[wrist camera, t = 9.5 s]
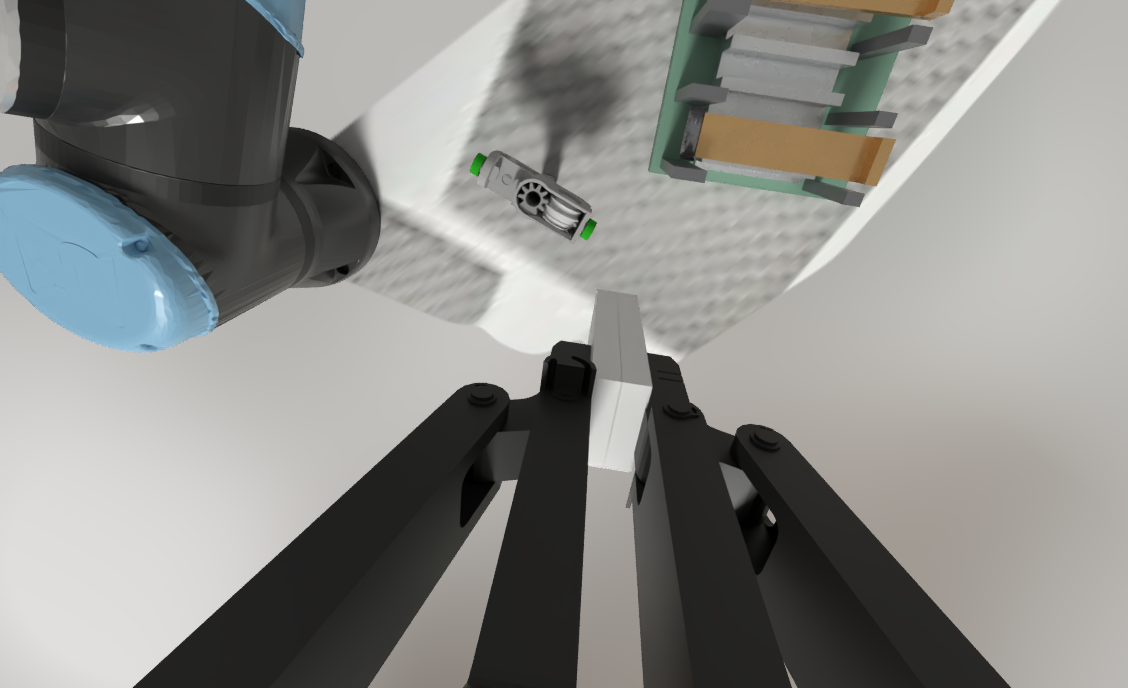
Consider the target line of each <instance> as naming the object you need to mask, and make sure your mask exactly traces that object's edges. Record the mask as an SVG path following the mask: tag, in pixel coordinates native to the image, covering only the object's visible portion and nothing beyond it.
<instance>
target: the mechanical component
mask: <svg viewBox="0 0 1128 688" xmlns="http://www.w3.org/2000/svg"><path fill="white" fill-rule="evenodd" d="M470 172H471V173H472V174H474V175H476V176H478V180H477V184H478V185H480V186H482V187H483V188H486V187H487V188H489V189H490V190H492V191H494V192H496V193H497V194H499V195H501V196H502V197H504V198H506V199H508V200H509V201H511V202H512V203H511V204H512V205H513V206H515V208H516V210H517V211H518V213H519V214H520V215H521V216H523V217H525V218H527V219H531V220H533V221H535V222H537V223H539V224H540V225H542V226H544V227H546V228H547V229H549V230H551V231H552V232H554V233H556V234H558V235H559V236H561V237H563V238H564V239H566V240H568V241H570V242H571V243H573V244H574V243H575V241H576V239H577V237H578V236H579V234H580V232H582V233H581V235H580V237H582V238H584V239H585V240H588V238H589V237H590V235H591V234H592V232H593V230H594V228H595V226H596V224H597V222H595V221H594V220H592V219H589V220H588V218H589V217H590V215H591V212H592V209H590V208H591V206H590V205H589V204H588V203H587V202H586V201H584V200H583V199H581V198H580V197H578V196H576V195H575V194H573V193H571V192H570V191H568V190H566V189H565V188H563V187H561V186H560V185H558V184H556V180H555V178H554V177H553V176H551V175H545V174H540V173H538V172H536V171H535V170H533V169H531V168H529V167H528V166H526V165H524V164H523V163H521V162H519V161H518V160H516V159H514V158H513V157H511V156H509V155H507V154H505V153H503V152H501V151H493V152H491V153H490V155H489V156H488V158H487V157H486V156H484V155H482V154H481V153H478V155H477V156H476V157H475V159H474V161H473V163H472V166H471V169H470ZM545 219H546V220H548V221H550V222H551V223H553V224H554V225H556V226H558V227H560V228H562V229H563V230H564V231H563V230H560V229H558V228H556V227H554V226H553V225H551V224H549V223H548V222H547V221H546V220H545ZM587 220H588V222H587Z"/></svg>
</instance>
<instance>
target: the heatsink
mask: <svg viewBox="0 0 1128 688" xmlns="http://www.w3.org/2000/svg"><path fill="white" fill-rule="evenodd" d="M873 15H874V14H871V13H863V12H855V11H846V10H838V9H830V8H822V7H814V6H806V5H797V4H789V3H781V2H773V1H765V0H752V1H751V5H750V9H749V13H748V16H747V17H745V18H744V19H743V20H741V21H740V22H739V23H737V24H736V25H735V26H734V27H732V28H731V29H730V30H728V31H727V32H726V33H724V34H723V38H722V42H721V46H720V50H719V54H718V58H717V63H716V67H715V71H714V75H713V79H712V83H711V86H717V87H723V88H729V90H728V94H727V98H726V102H722V103H716V104H711V105H706V108H707V112H706V113H712V114H719V115H726V116H732V117H739V118H746V119H753V120H760V121H767V122H773V123H780V124H787V125H794V126H801V127H807V128H814V129H819V127H820V124H821V121H822V118H823V116H824V113H825V110H826V107H839V106H841V104H842V101H843V98H844V96H845V94H840V93H833V92H832V90H833V87H834V84H835V81H836V78H837V75H838V72H839V69H844V68H848V67H853V66H855V65H856V62H857V59H858V57H859V54H860V53H857V52H850V51H846V49H847V46H848V43H849V41H850V38H851V35H852V32H853V29H855V28H858V27H860V26H863V25H866V24H868V23H871V20H872V18H873ZM692 164H694V165H696V166H698V167H700V168H702V169H706V170H713V171H720V172H726V173H733V174H739V175H746V176H752V177H759V178H765V179H772V180H778V181H785V182H791V183H798V184H800V182H801V179H802V178H807V179H813V180H814V179H815V177H816V176H813V175H806V174H800V173H794V172H787V171H781V170H774V169H768V168H762V167H755V166H749V165H742V164H736V163H730V162H723V161H717V160H710V159H704V158H698V157H695V161H693V162H692Z"/></svg>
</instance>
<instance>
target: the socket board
mask: <svg viewBox="0 0 1128 688" xmlns="http://www.w3.org/2000/svg"><path fill="white" fill-rule="evenodd" d="M707 1H708V0H683V2H682V7H681V12H680V17H679V22H678V27H677V32H676V37H675V42H674V46H673V51H672V56H671V61H670V66H669V71H668V76H667V81H666V86H665V90H664V95H663V100H662V105H661V110H660V115H659V120H658V125H657V130H656V135H655V139H654V144H653V149H652V154H651V159H650V164H649V169H648V171H649V172H653V173H659V174H666V173H665V172H664V171H663V170H662V169H661V168H660V163H661V159H662V158H666V159H673V160H679V161H686V162H690V163H692V162H693V161H688V160H682V159H679V155H680V150H681V146H682V142H683V137H684V133H685V129H686V124H687V120H688V115H689V111H690V107H691V106H698V107H704V108H706V105H705V106H699V105H693V104H686V103H679V102H674V98H675V93H676V91H677V90H679V89H681V88H683V87H685V86H687V85H690V84H692V83H697V84H703V85H710V86H711V83H712V79H713V75H714V71H715V67H716V63H717V58H718V54H719V50H720V46H721V42H722V38H723V35H722V36H720V37H719V38H716V37H709V36H702V35H695V34H688V33H689V28H690V23H691V21H692V19H693V18H694V17H695V16H696V15H697V13H698V12H699V11H700V10H701V8H702V7H703V6H704V5H705V4H706V2H707ZM911 19H912V18H904V17H895V16H887V15H879V14H874V15H873V18H872V20H871V23H868V24H866V25H863V26H860V27H858V28H855V29H853V32H852V35H851V38H850V41H849V43H848V46H847V49H846V51H850V50H851V47H852V44H855V43H858V42H861V41H864V40H867V39H870V38H874V37H877V36H880V35H883V34H886V33H889V32H892V31H895V30H899V29H902V28H905V27H908V26H909V24H910V21H911ZM898 52H899V51H898ZM898 52H894V53H890V54H886V55H881V56H877V57H873V58H869V59H865V60H860V59H857V62H856V65H855V66H853V67H848V68H844V69H839V72H838V75H837V78H836V81H835V84H834V87H833V90H832V92H833V93H840V94H845V96H844V98H843V101H842V104H841V106H839V107H826V110H825V113H824V116H823V118H822V121H821V124H820V127H819V129H821V130H828V131H835V132H841V133H848V134H855V135H862V136H866V134H867V131H868V129H869V128H856V127H834V126H828V125H824V124H825V121H826V118H827V115H828V113H838V112H862V111H876V108H877V106H878V103H879V101H880V98H881V96H882V93H883V90H884V88H885V85H886V83H887V80H888V78H889V75H890V72H891V70H892V67H893V65H894V62H895V60H896V57H897V55H898ZM704 170H706V169H704ZM706 171H708V172H707V175H706V179H705V181H711V182H718V183H724V184H731V185H737V186H744V187H750V188H757V189H763V190H770V191H776V192H783V193H789V194H796V195H802V196H809V197H815V198H822V199H826V198H823V197H820V196H818V195H815V194H812V193H809V192H806V191H803V190H802V187H803V184H804V181H805V179H807V178H802V179H801V182H800V184H798V183H791V182H785V181H778V180H772V179H765V178H759V177H752V176H746V175H739V174H733V173H726V172H720V171H713V170H706ZM666 175H668V174H666ZM808 180H813V179H808ZM814 181H820V182H824V183H827V184H831V185H834V186H838V187H841V188H846V185H847V183H848V181H845V180H839V179H832V178H826V177H819V176H816V177H815V179H814ZM828 200H829V199H828Z"/></svg>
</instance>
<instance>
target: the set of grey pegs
mask: <svg viewBox="0 0 1128 688" xmlns="http://www.w3.org/2000/svg"><path fill="white" fill-rule="evenodd" d="M751 1H752V0H708V1H707V2H706V4H705V5H704V6H703V7H702V8H701V10H700V11H699V12H698V13H697V15H696V16H695V17H694V18H693V19H692V21H691V23H690V28H689V33H688V34H695V35H702V36H709V37H716V38H719V37H720V36H722V35H723V34H724V33H726V32H727V31H728V30H730V29H731V28H732V27H734V26H735V25H736V24H737V23H739V22H740V21H741V20H743V19H744V18H745V17H747V16H748V13H749V9H750V5H751ZM932 29H933V27H927V26H920V25H911V26H908V27H905V28H902V29H899V30H895V31H892V32H889V33H886V34H883V35H880V36H877V37H874V38H870V39H867V40H864V41H861V42H858V43H855V44H852V47H851V50H850V52H857V53H860V54H859V57H858V59H860V60H865V59H869V58H873V57H877V56H881V55H886V54H890V53H894V52H898V51H902V50H906V49H910V48H914V47H918V46H922V45H926V44H927V41H928V39H929V37H930V34H931V32H932ZM728 90H729V88H723V87H717V86H710V85H703V84H697V83H692V84H690V85H687V86H685V87H683V88H681V89H679V90H677V91H676V93H675V98H674V102H679V103H686V104H693V105H699V106H705V105H711V104H716V103H722V102H726V98H727V94H728ZM897 115H898V113H891V112H885V111H862V112H838V113H828V115H827V118H826V121H825V124H824V125H828V126H834V127H856V128H892V127H893V124H894V122H895V119H896V117H897ZM660 168H661V169H662V170H663V171H664V172H665V173H666V174H668V175H669V176H670V177H671V178H675V179H682V180H688V181H695V182H701V183H705V179H706V175H707V172H708V171H706V170H704V169H702V168H700V167H698V166H696V165H694V164H692V163H690V162H686V161H679V160H673V159H666V158H662V159H661V163H660ZM802 190H803V191H806V192H809V193H812V194H815V195H818V196H820V197H823V198H826V199H829V200H832V201H835V202H838V203H840V204H844V205H850V206H857V207H860V205H861V202H862V200H863V197H864V195H865V194H863V193H859V192H856V191H852V190H848V189H845V188H841V187H838V186H834V185H831V184H827V183H824V182H820V181H814V180H808V179H805V181H804V184H803V187H802Z"/></svg>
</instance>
